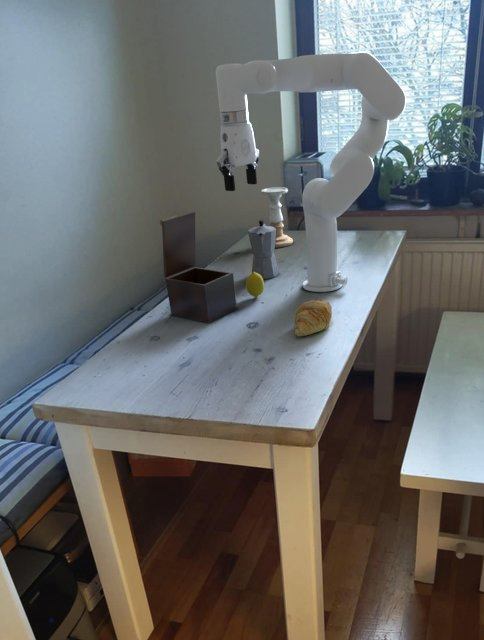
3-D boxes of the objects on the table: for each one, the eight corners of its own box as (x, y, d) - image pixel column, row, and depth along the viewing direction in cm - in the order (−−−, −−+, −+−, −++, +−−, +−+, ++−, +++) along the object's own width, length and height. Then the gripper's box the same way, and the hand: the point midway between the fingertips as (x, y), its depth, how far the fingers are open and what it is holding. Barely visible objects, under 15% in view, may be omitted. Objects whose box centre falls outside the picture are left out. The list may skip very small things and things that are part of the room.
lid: (195, 212, 172) (182, 207, 174) (163, 221, 163) (150, 217, 165) (195, 265, 182) (183, 261, 184) (166, 277, 173) (153, 272, 175)
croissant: (309, 353, 157) (321, 329, 152) (276, 333, 158) (288, 308, 153) (335, 322, 173) (348, 299, 168) (306, 304, 174) (317, 281, 169)
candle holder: (264, 240, 247) (260, 187, 236) (294, 239, 245) (292, 185, 234) (260, 248, 237) (255, 193, 226) (291, 247, 235) (288, 191, 224)
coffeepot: (277, 280, 201) (274, 224, 191) (249, 281, 202) (244, 225, 192) (280, 267, 214) (277, 213, 204) (253, 268, 214) (249, 215, 205)
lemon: (267, 295, 189) (265, 269, 184) (261, 301, 184) (259, 275, 180) (250, 294, 190) (248, 268, 186) (244, 300, 186) (242, 274, 182)
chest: (236, 309, 180) (233, 272, 174) (209, 323, 172) (204, 285, 166) (199, 301, 188) (194, 266, 182) (171, 314, 179) (165, 278, 174)
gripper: (224, 122, 154) (231, 194, 163) (265, 114, 165) (270, 182, 174) (202, 122, 158) (211, 192, 167) (244, 115, 169) (250, 181, 178)
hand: (241, 187), depth 170 cm, fingers open, 9 cm apart
